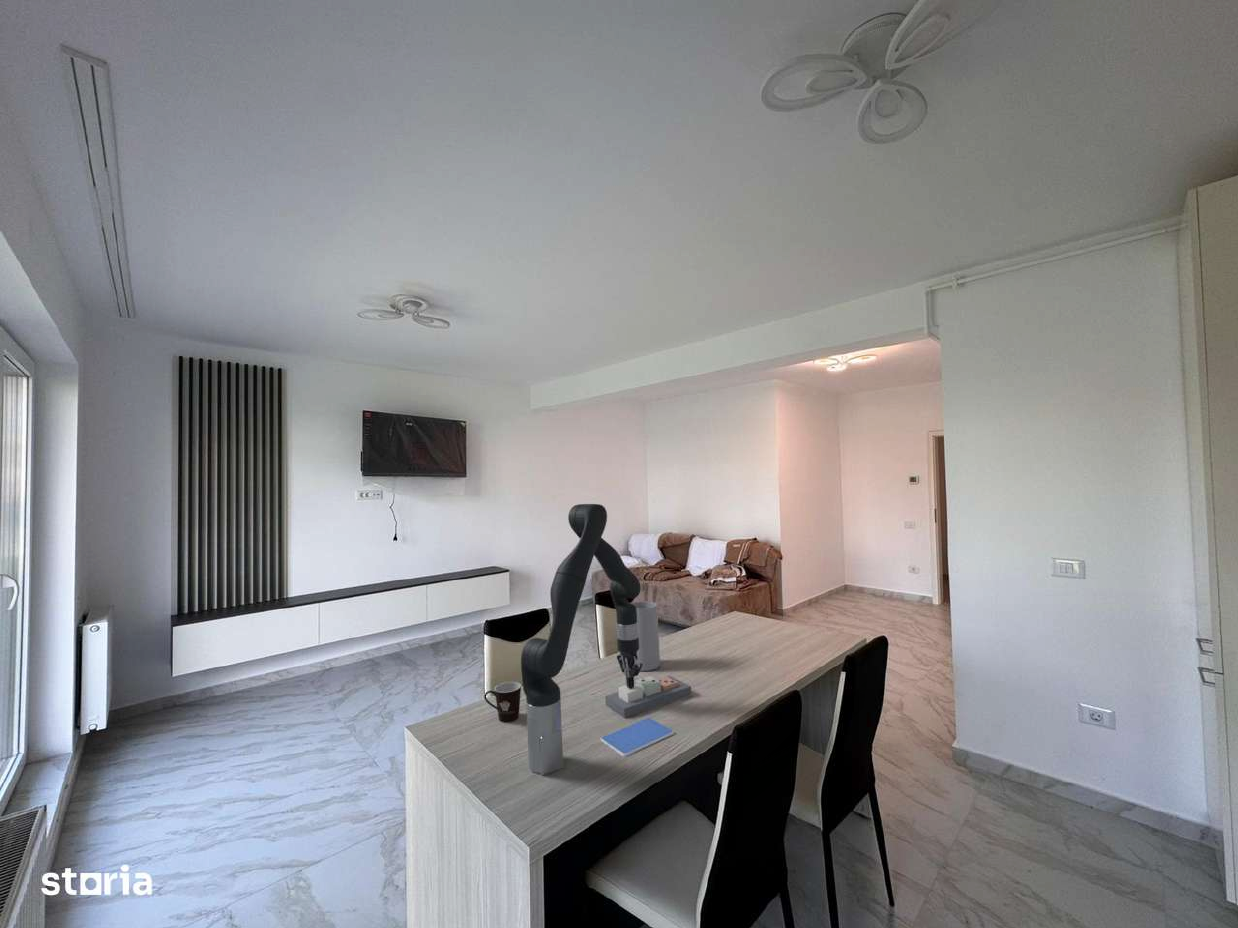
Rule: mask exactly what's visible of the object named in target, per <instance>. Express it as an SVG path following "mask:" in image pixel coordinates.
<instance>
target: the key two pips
mask: <svg viewBox="0 0 1238 928" xmlns="http://www.w3.org/2000/svg"><path fill="white" fill-rule="evenodd" d="M658 680H659V679H657V678H654V677H653V676H650V675H649V676H646V677H644V678H640V679H637V680H636V682H635V683H636V685H637V686H639V687H641V688H642V689H643V695H645V696H649V695H652V694H656V693H659V692H661V685H660V681H658Z"/></svg>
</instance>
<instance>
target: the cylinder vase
mask: <svg viewBox="0 0 1238 928" xmlns="http://www.w3.org/2000/svg"><path fill="white" fill-rule="evenodd" d="M630 603H631V604H633V605H635V606H636V609H637V624H638V630H639V650H638V651H637V657H638V659H637V661H638V662H639V663H642V668H641V670H640V672H649V671H654V670H656V669H658V668H660V666H661V655H660V654H661V653H660V640H659V638H660V635H659V620H658V619H659V617H658V604H657V603H656V602H653V601H634V602H630Z"/></svg>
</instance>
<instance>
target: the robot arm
mask: <svg viewBox="0 0 1238 928" xmlns="http://www.w3.org/2000/svg"><path fill="white" fill-rule="evenodd" d="M568 512H569V513H568V515H567V516H568V517H567V518H568V524H569V526H570V528H571V529H572V531H573V532H574V533H575V535H576V536H577V537H578V538H579V541H578V542H577V544H576V546H574V549H572V550H571V552H570V553H569V554H568V555H567V556H566V557H565V558H564V559H563V560H562V561H561V563H560V564H559V566H558V567H557V569H556V571H555V574H554V577H553V580H552V583H551V586H550V604H551V610H552V623H551V627H550V631H549V635H548V638H547V639H545V638H540V637H533V638H531V639H529V640H527V642H526V643H525V644H524V645H523V648H522V651H521V654H520V655H521V656H520V657H521V658H520V667H521V668H520V669H521V680H522V689H523V693H524V694H525V699H526V722H527V723H526V724H527V725H526V727H527V750H528V768H529V770H530V771H532V772H534V773H536V774H540V775H541V776H544V775H547V774H550V773H552V772H555V771H558V770H560V769H563V768H564V753H563V752H564V749H563V730H562V729H563V727H562V703H561V702H562V701H561V688H560V686H559V685H558V684H557V683H556V682H555V680H553V678H555V677H556V676H558V675H559V673H560V672H561V670H562V669H563V666H564V664H565V660H566V657H567V653H568V648H569V643H570V639H571V634H572V629H573V626H574V622H575V617H576V614H577V611H578V607H579V604H580V601H581V598H582V595H583V592H584V589H585V585H586V581H587V578H588V575H589V571H590V568H591V565H592V562H593V559H594V557H595V559H596V560H597V562H598V563H599V565H600V567H601V568H602V570H603V572H604V573H605V575H606V576H607V578H608V579H609V580H610V587H609V588H610V595H611V597H612V601H613V605H614V608H615V611H616V613H615V614H616V645H617V649H616V650H617V651H618V652H619V653H620V654H619V655H616V659H617V662H618V664H619V667H620V670H621V672H622V673H624V676H625V680H626V682H625V685H627V687H628V688H633V687H634V684H635V677H637V676H638V675H639V674H640V672H641V671H640V670H641V668H642V663H639V662H638V661H637V659H638V657H637V651H638V650H639V630H638V624H637V609H636V606H635V605H633V604H631V603H632V602H629V601H628V599H636V598H637V597H639V595H640V593H641V590H642V588H641V583H640V580H639V578H638V577H637V576H636V575H635V574H634V573H633V572H632V571H631V570H630V568H628V567H627V565H625V563H624V561H623V559H622V558H621V555H620V554H619V552H618V551H617V550H616V549H615V548H614V547H613V546H612V545H610V543H609V542H607V541H606V540H605V539H604V538H603V537H602V536H603V535H604V532H605V529H606V525H607V522H608V521H607V520H608V511H607V509H606V507H605V506H604V505H602V504H599V503H582V504H580V503H579V504H575V505H573V506H572V507H571V508H570V510H569V511H568Z"/></svg>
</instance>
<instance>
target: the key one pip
mask: <svg viewBox="0 0 1238 928" xmlns="http://www.w3.org/2000/svg"><path fill="white" fill-rule="evenodd" d="M617 689H618V694H619V698H621V699H622V700H624V701H625V702H627V703H630V702H633V701H636V700H639V699H642V698H643V689H642V688H641V687H639V686H637V684H635V683H634V687H633V688H628V687H627V684H625V685H621V686H619V687H618V688H617Z"/></svg>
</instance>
